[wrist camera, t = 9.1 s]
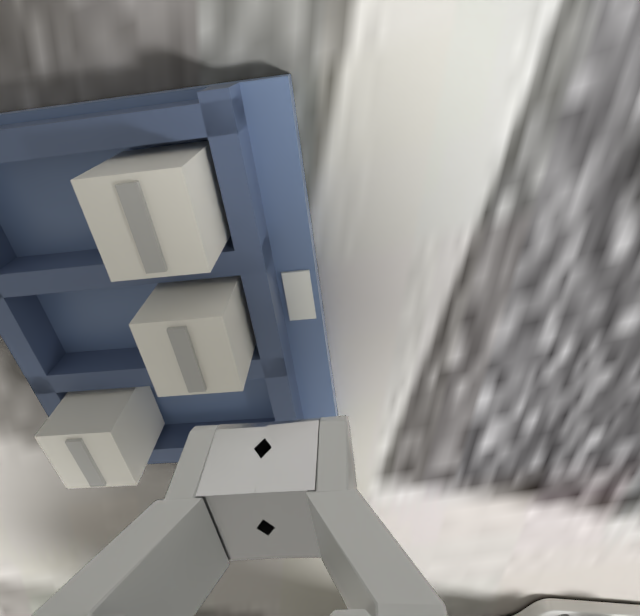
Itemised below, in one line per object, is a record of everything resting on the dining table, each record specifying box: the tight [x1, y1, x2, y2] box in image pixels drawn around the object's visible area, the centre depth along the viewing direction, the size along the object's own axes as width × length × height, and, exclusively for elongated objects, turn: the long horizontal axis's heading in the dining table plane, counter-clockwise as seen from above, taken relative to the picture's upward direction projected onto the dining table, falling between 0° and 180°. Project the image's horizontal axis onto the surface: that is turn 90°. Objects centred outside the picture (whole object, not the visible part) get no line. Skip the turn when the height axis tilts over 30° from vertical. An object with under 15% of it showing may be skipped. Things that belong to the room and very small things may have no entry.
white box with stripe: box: [34, 386, 165, 489], centre depth 25 cm, size 4×4×5 cm
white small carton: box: [129, 275, 256, 397], centre depth 21 cm, size 4×4×5 cm
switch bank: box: [0, 74, 338, 464], centre depth 24 cm, size 18×20×3 cm
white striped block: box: [70, 141, 231, 282], centre depth 18 cm, size 4×4×5 cm
